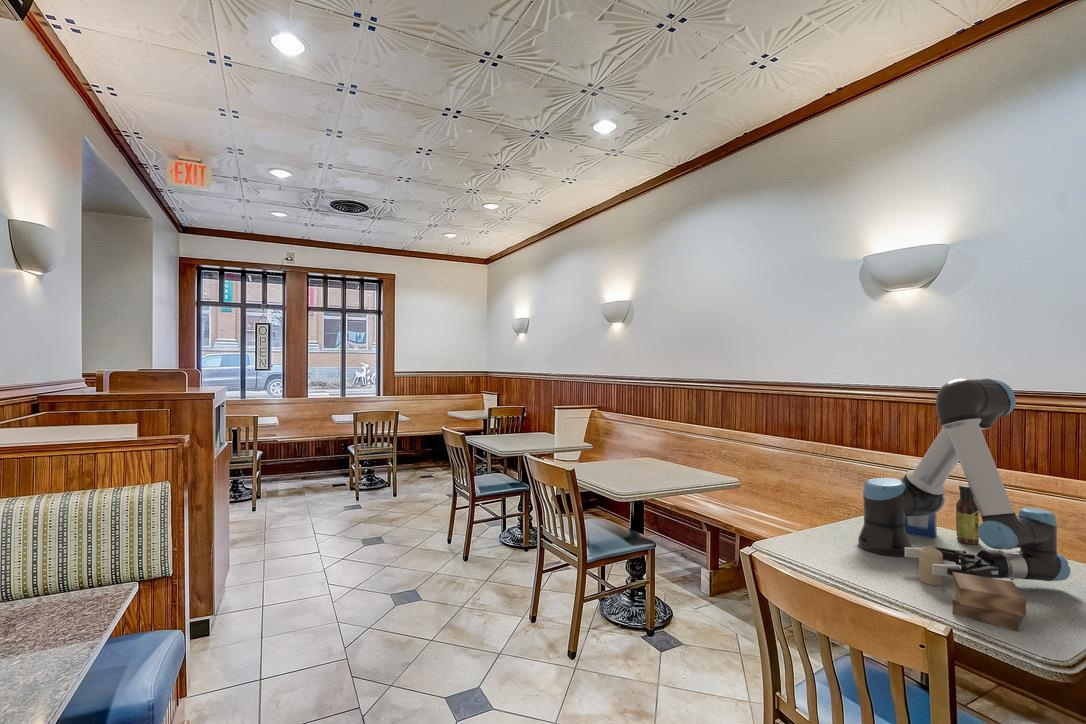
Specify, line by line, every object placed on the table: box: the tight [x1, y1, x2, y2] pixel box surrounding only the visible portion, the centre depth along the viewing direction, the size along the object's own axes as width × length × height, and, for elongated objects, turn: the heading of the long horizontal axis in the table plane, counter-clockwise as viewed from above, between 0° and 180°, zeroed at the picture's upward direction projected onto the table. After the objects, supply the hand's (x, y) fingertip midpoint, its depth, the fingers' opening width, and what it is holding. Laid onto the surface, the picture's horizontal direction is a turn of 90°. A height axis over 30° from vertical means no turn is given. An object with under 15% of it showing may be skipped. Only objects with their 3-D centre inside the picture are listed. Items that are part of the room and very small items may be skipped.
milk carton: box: [900, 477, 938, 539], centre depth 191 cm, size 10×6×20 cm, turn 46°
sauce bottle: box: [955, 484, 980, 545], centre depth 181 cm, size 7×6×20 cm
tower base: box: [951, 594, 1024, 633], centre depth 127 cm, size 12×12×4 cm
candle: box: [918, 545, 944, 587], centre depth 147 cm, size 6×6×10 cm
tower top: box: [951, 572, 1027, 617], centre depth 127 cm, size 12×12×4 cm
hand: (918, 560), depth 147 cm, fingers open, 13 cm apart
